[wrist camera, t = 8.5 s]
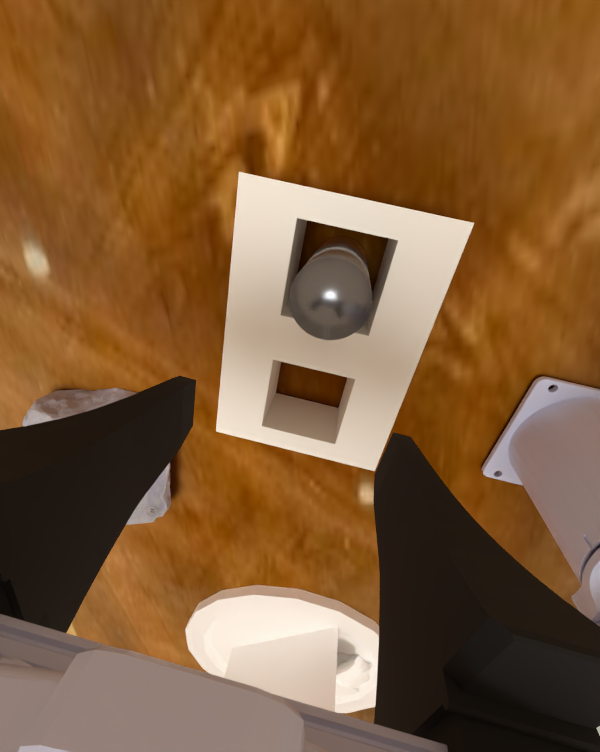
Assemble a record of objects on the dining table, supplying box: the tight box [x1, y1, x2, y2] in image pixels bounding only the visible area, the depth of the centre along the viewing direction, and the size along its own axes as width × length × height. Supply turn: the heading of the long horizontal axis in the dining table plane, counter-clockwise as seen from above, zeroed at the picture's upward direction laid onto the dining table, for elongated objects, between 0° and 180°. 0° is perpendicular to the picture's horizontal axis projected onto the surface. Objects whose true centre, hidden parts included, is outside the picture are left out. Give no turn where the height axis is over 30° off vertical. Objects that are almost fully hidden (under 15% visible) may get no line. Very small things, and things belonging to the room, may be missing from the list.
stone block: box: [22, 388, 171, 525], centre depth 28 cm, size 12×5×10 cm
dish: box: [185, 585, 379, 713], centre depth 35 cm, size 25×25×11 cm
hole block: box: [216, 172, 474, 471], centre depth 19 cm, size 10×14×4 cm
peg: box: [289, 236, 372, 340], centre depth 16 cm, size 3×3×8 cm
